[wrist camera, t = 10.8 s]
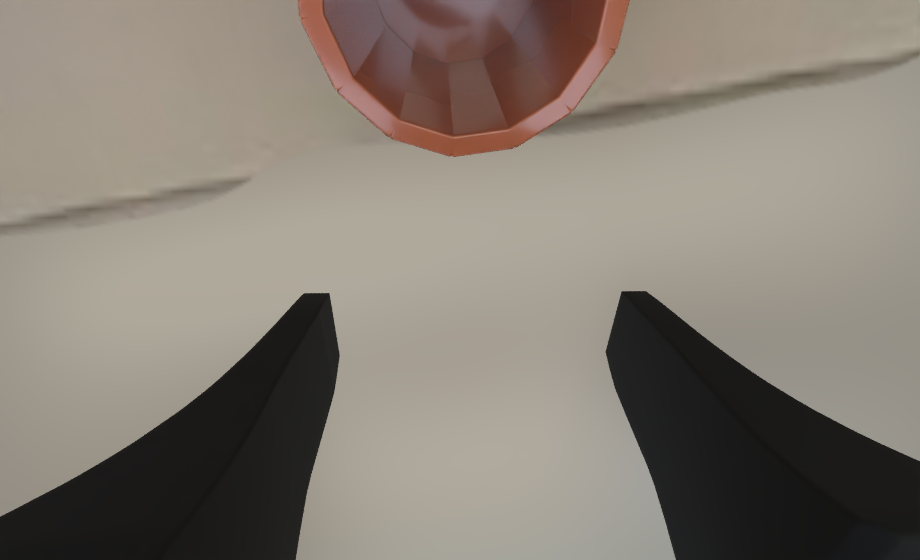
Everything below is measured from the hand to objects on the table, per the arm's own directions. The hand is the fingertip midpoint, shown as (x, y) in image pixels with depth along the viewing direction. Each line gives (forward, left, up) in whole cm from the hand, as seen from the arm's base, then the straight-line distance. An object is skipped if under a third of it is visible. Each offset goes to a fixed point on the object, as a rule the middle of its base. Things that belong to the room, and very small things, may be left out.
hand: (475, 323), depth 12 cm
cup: (-4, +6, -6) cm, 10 cm away
